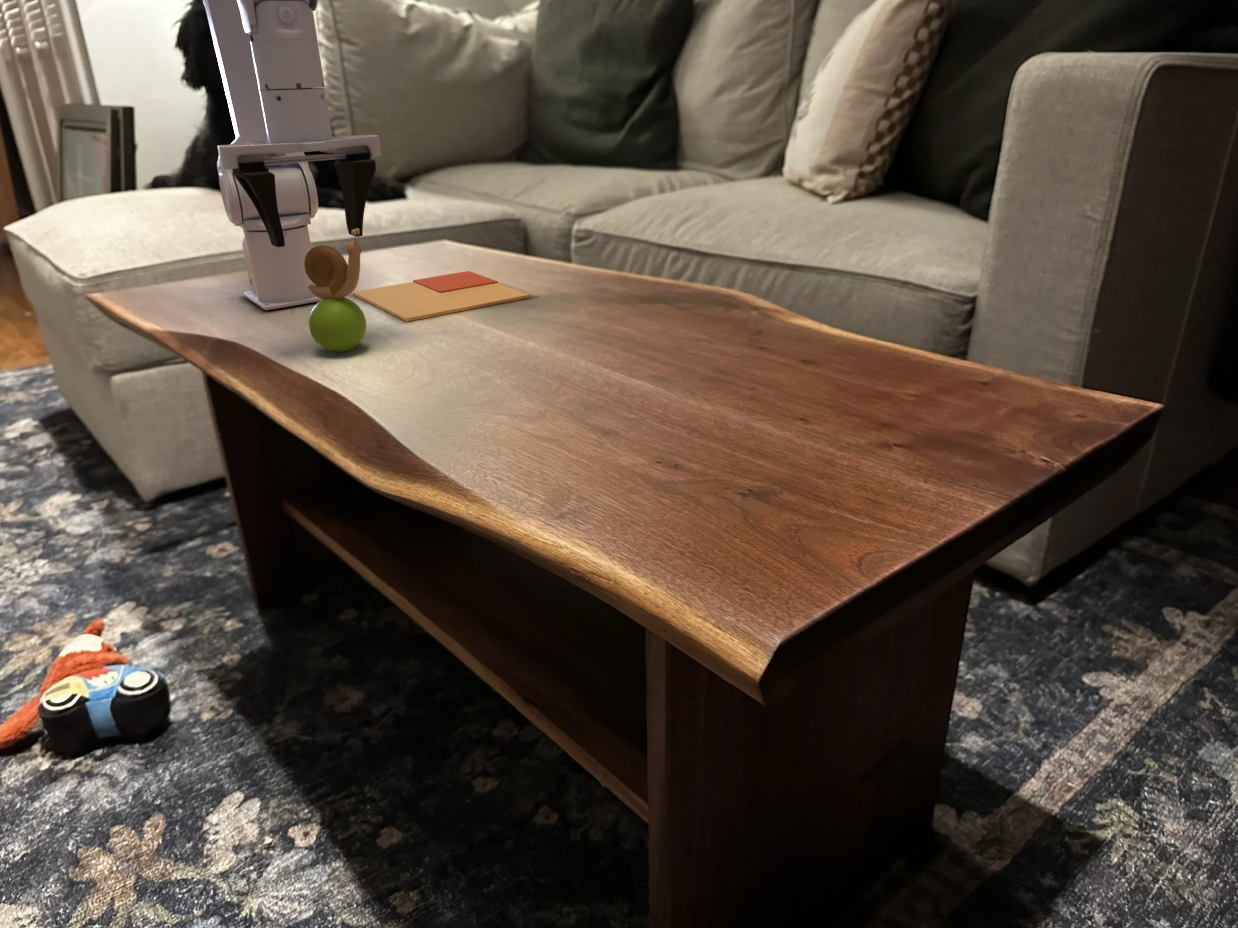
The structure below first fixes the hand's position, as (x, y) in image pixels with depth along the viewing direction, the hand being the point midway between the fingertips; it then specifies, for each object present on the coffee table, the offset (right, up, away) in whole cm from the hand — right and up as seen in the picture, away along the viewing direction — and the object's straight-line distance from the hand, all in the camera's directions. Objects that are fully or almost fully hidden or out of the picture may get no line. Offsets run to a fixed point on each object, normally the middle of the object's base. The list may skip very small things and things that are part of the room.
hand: (317, 240), depth 85 cm
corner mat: (+8, -1, +21) cm, 23 cm away
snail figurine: (+2, -11, +2) cm, 11 cm away
